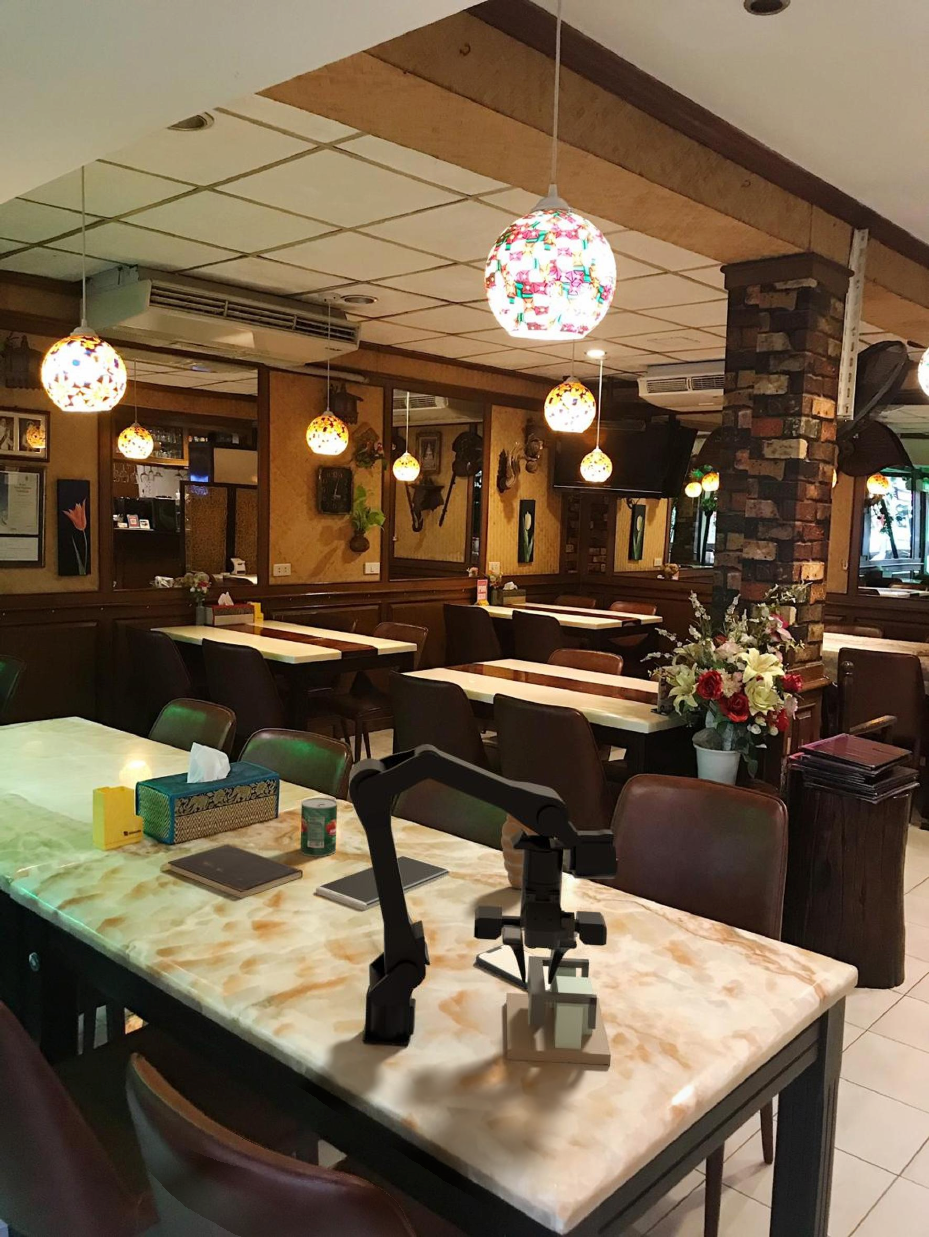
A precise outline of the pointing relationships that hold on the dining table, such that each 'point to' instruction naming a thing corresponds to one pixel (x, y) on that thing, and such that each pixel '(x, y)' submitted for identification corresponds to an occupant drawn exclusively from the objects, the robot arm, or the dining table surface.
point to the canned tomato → (318, 827)
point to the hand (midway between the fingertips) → (536, 982)
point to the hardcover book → (235, 870)
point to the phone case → (507, 965)
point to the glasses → (540, 995)
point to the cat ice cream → (513, 851)
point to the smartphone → (363, 888)
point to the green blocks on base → (557, 1026)
